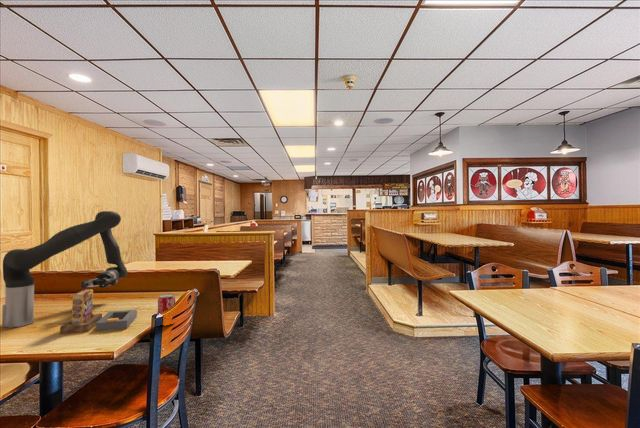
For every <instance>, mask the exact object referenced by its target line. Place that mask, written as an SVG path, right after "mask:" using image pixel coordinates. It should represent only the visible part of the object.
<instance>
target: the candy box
mask: <svg viewBox="0 0 640 428" xmlns="http://www.w3.org/2000/svg"><path fill="white" fill-rule="evenodd" d="M93 300H94V290H93V289H83V290H81V291H78V292H76V293H72V305H71V306H72V307H71V319H72V324H82V323H86V322H87V321H89V320H90V319H91V318H92V314H93V303H94V301H93Z"/></svg>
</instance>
